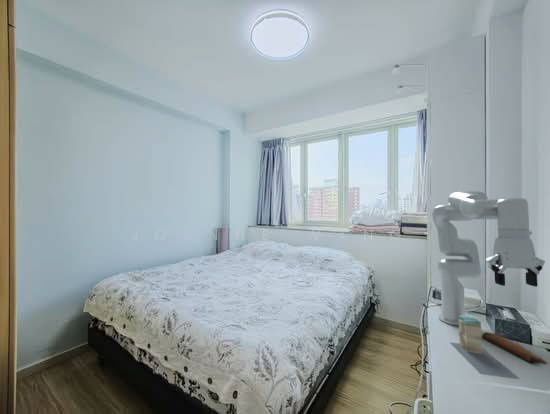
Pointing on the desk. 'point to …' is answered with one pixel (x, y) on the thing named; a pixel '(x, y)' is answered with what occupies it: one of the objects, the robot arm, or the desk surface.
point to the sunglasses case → (513, 348)
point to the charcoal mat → (485, 363)
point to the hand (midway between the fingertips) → (515, 284)
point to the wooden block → (470, 334)
